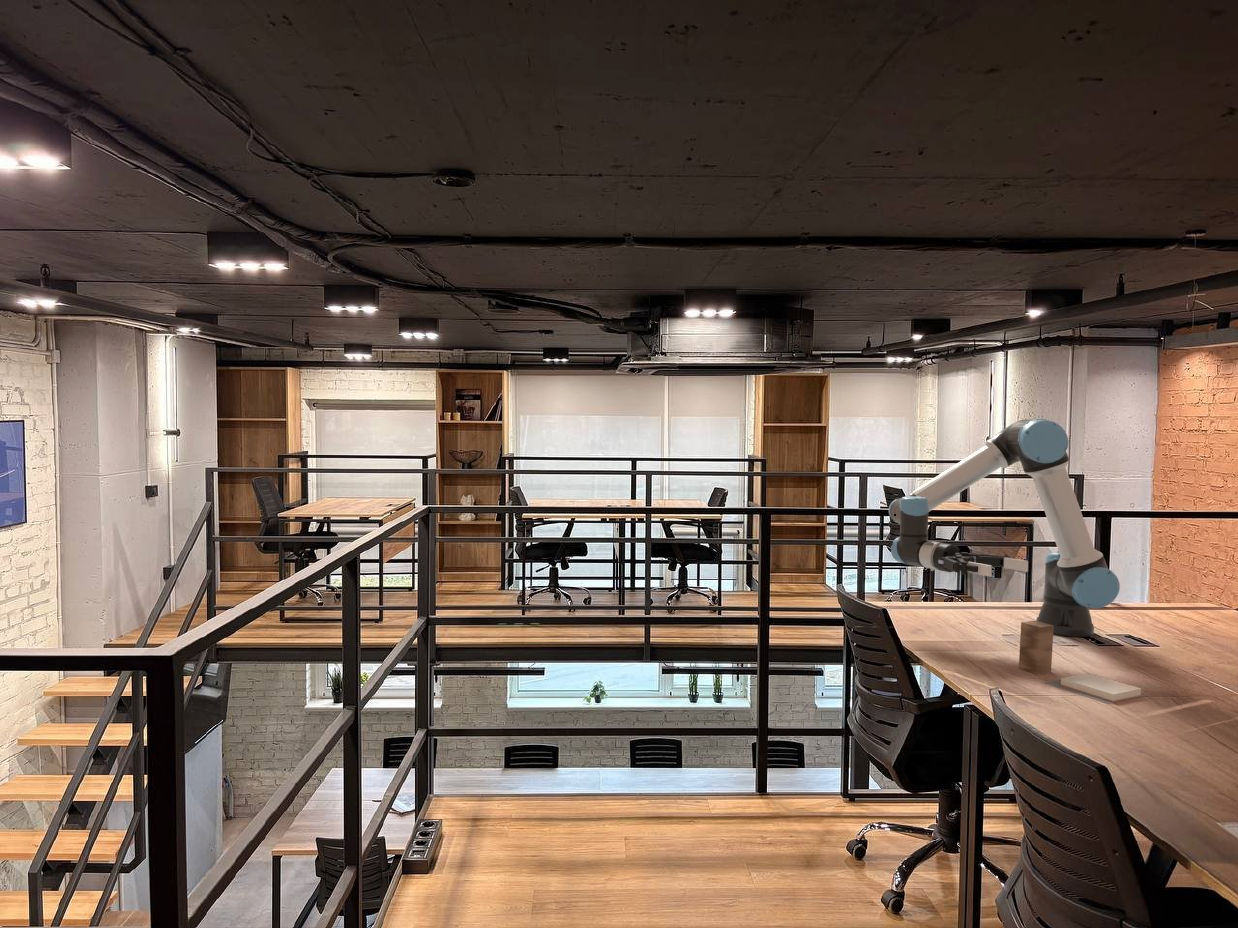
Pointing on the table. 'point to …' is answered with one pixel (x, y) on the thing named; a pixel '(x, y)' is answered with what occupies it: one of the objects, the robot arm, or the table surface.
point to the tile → (1101, 687)
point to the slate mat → (1058, 685)
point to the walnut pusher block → (1036, 647)
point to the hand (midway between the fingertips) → (1009, 568)
